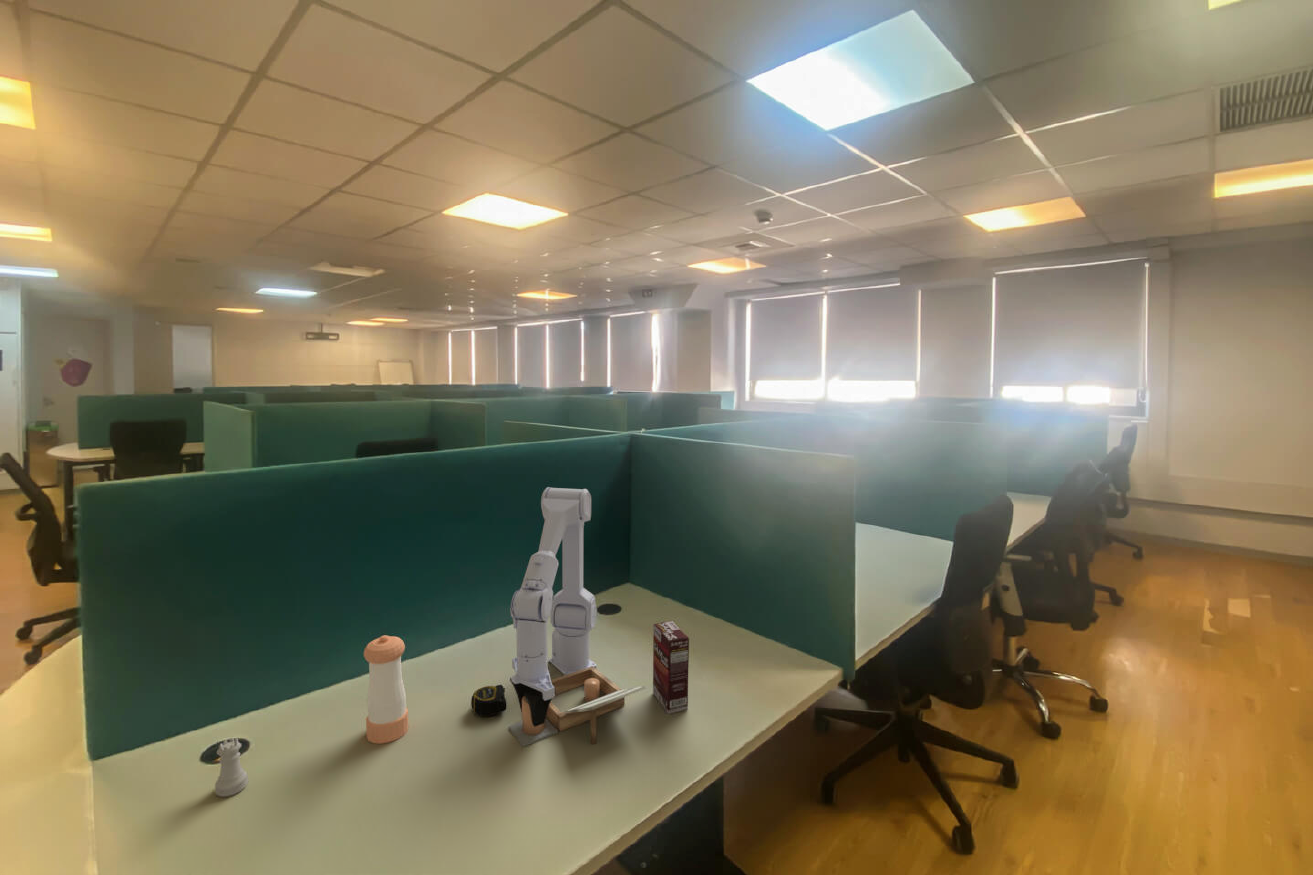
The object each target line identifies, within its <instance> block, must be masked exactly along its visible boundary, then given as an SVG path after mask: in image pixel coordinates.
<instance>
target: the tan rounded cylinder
mask: <svg viewBox="0 0 1313 875" xmlns="http://www.w3.org/2000/svg"><path fill="white" fill-rule="evenodd" d="M583 693H584V694H583V696H584V697H583V699H584V700H585V701H586V702H590V701H593V700H595V699H598V698H600V689H599V680H598V679H595V678H590V679H587V680H585V682H584V690H583Z"/></svg>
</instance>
